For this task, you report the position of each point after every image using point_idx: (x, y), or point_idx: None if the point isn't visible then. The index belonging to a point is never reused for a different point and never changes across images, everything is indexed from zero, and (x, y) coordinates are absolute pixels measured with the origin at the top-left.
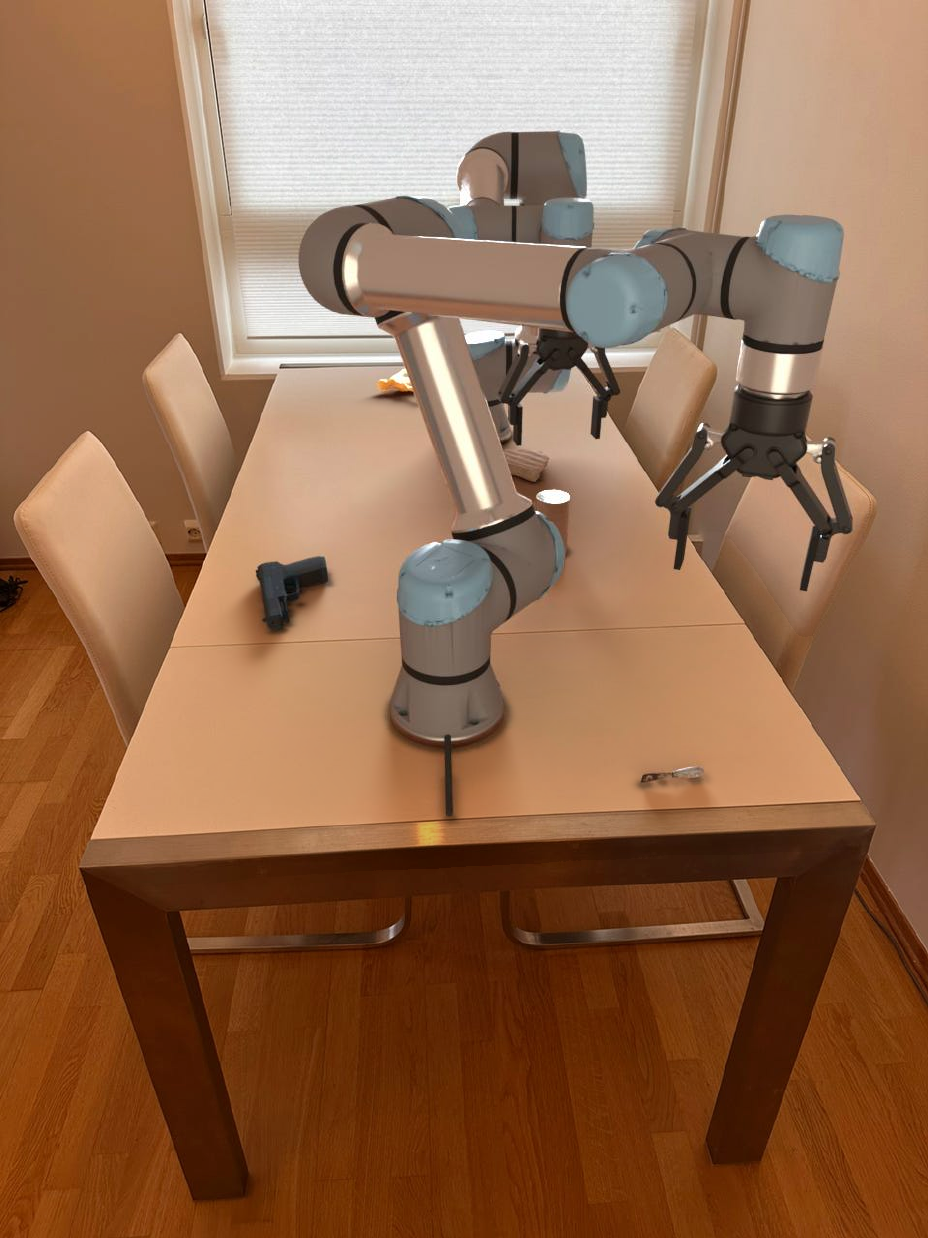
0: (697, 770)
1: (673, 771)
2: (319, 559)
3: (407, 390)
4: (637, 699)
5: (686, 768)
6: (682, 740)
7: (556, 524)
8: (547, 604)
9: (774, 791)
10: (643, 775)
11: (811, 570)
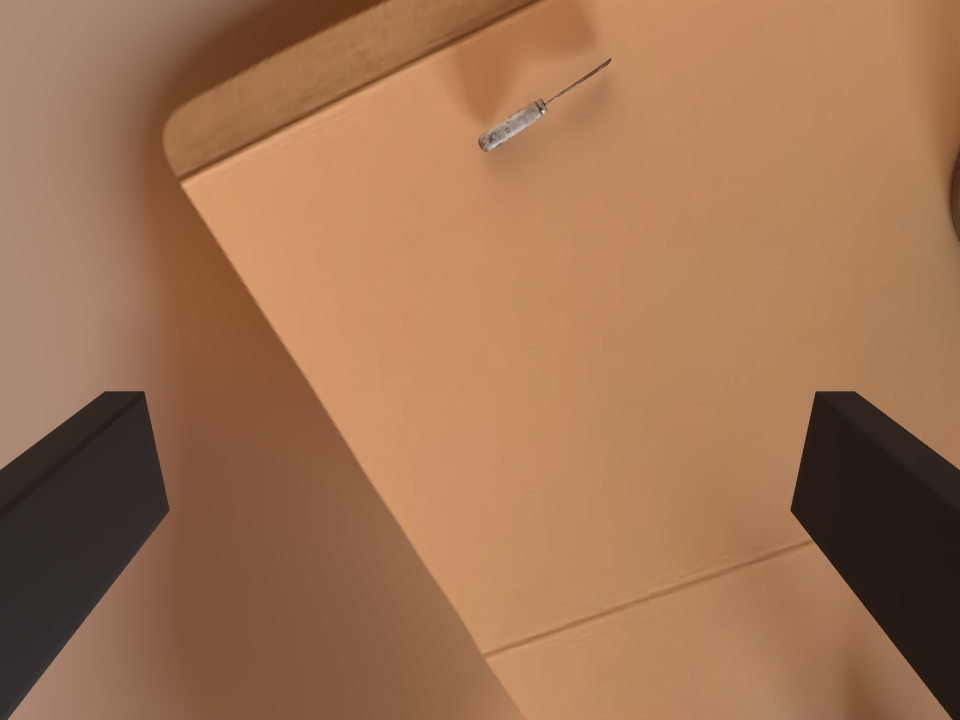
0: (492, 131)
1: (543, 108)
2: None
3: None
4: (648, 359)
5: (516, 127)
6: (537, 255)
7: None
8: None
9: (327, 154)
10: (609, 59)
11: (13, 460)
